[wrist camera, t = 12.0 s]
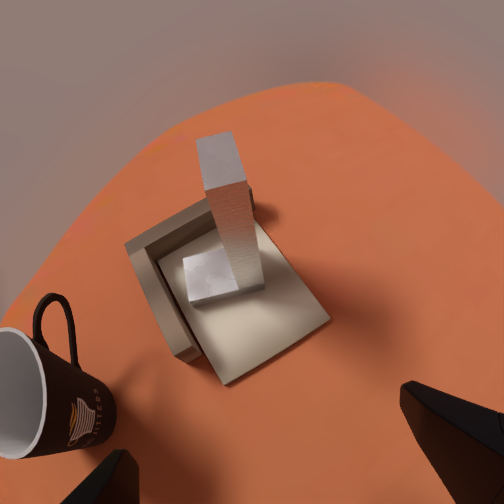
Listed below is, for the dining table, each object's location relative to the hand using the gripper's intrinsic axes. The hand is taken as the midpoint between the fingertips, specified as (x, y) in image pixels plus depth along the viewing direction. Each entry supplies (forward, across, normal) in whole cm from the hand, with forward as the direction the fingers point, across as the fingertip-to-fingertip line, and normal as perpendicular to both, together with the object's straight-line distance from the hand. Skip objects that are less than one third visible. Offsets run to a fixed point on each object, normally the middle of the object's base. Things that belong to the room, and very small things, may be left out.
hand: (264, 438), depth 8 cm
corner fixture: (+18, +1, +1) cm, 18 cm away
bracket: (+18, +1, 0) cm, 18 cm away
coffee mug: (+13, +14, +7) cm, 20 cm away
